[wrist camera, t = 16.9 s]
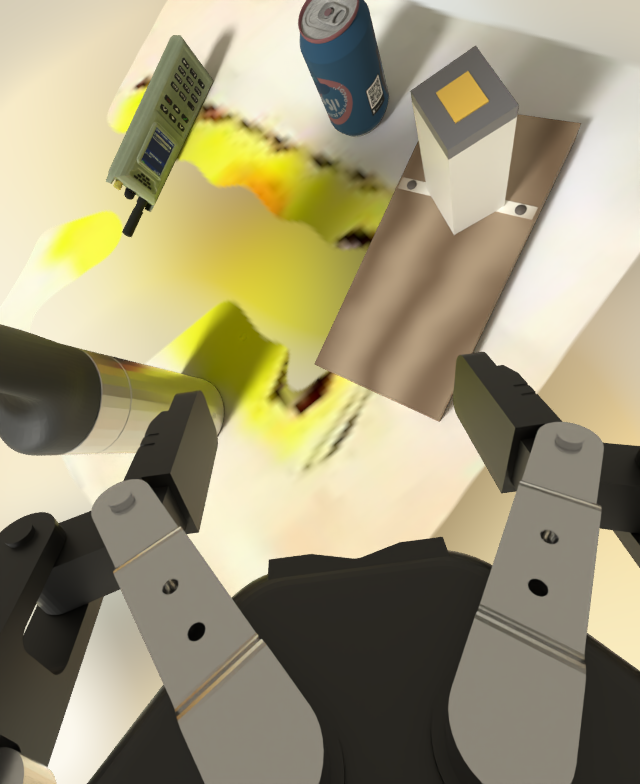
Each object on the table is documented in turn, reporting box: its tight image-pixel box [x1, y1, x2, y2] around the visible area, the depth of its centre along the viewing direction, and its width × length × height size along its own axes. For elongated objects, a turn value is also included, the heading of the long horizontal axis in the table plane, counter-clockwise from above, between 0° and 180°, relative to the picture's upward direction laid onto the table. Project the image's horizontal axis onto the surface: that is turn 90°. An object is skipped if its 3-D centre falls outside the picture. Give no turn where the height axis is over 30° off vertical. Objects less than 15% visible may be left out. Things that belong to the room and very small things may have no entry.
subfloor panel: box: [315, 114, 581, 422], centre depth 40 cm, size 14×30×2 cm, turn 154°
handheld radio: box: [106, 35, 213, 237], centre depth 54 cm, size 7×3×25 cm
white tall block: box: [410, 46, 519, 235], centre depth 33 cm, size 5×6×12 cm
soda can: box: [298, 0, 389, 136], centre depth 41 cm, size 7×7×12 cm
